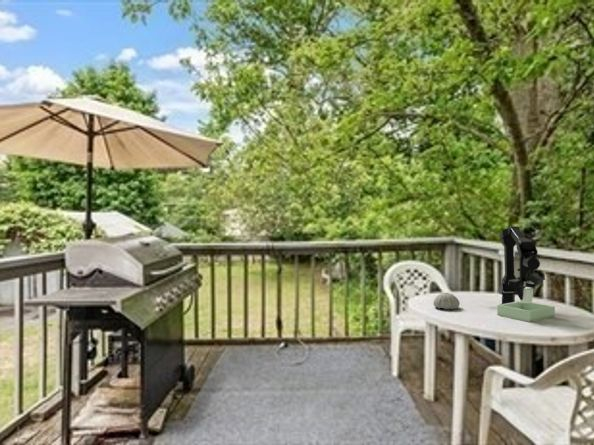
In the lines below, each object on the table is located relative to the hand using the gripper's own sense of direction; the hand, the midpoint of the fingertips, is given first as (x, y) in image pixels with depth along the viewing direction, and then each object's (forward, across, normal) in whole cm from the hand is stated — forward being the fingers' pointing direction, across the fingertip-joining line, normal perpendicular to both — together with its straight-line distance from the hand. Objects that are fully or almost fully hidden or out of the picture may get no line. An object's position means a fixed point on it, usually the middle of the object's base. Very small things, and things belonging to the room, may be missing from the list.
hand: (525, 299), depth 278 cm
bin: (+8, 0, 0) cm, 8 cm away
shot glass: (+2, 0, 0) cm, 2 cm away
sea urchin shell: (+9, -16, +36) cm, 40 cm away
